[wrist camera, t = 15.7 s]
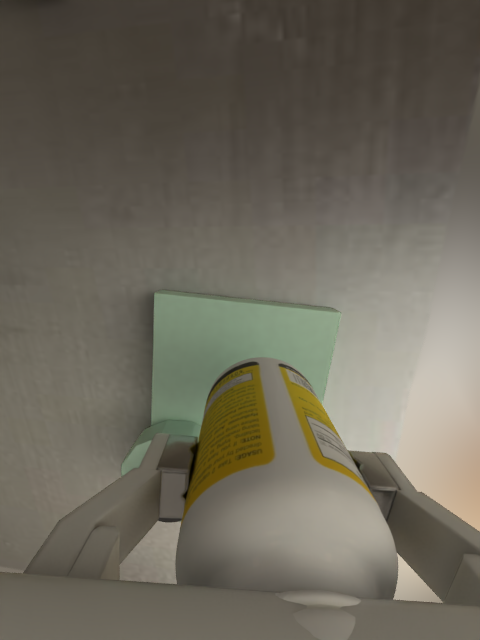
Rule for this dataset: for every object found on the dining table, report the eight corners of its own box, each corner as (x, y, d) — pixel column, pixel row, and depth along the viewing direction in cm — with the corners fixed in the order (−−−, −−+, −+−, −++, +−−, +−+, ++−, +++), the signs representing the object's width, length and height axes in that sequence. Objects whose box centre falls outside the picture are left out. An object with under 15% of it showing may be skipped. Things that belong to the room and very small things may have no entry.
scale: (138, 478, 19) (121, 517, 17) (141, 287, 16) (119, 294, 13) (296, 491, 20) (306, 532, 17) (333, 308, 16) (353, 319, 13)
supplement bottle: (202, 443, 13) (112, 900, 4) (213, 347, 12) (117, 687, 3) (302, 454, 14) (450, 914, 4) (324, 361, 12) (616, 723, 3)
